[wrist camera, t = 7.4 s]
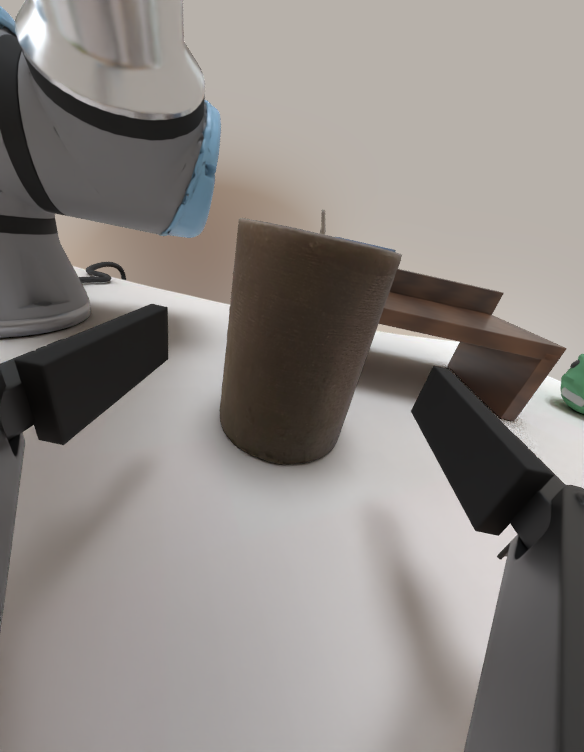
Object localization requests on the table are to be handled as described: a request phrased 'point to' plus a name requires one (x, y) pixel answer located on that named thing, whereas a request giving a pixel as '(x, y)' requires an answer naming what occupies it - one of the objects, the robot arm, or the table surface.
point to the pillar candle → (298, 337)
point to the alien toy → (574, 385)
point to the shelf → (474, 338)
